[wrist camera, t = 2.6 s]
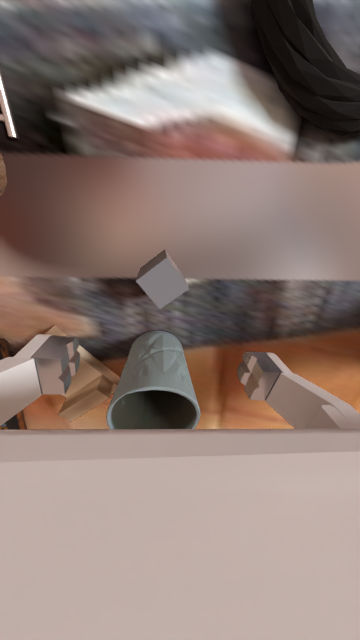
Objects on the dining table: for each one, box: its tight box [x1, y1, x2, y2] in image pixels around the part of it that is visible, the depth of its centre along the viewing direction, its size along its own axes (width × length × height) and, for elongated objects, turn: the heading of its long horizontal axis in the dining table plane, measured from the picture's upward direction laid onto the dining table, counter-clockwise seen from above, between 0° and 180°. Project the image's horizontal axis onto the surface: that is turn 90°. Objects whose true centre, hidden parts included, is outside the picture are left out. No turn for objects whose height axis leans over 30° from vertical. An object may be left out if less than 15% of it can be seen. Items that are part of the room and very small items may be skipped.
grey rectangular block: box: [136, 250, 189, 309], centre depth 22 cm, size 4×4×6 cm
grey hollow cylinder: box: [107, 331, 200, 429], centre depth 26 cm, size 10×10×12 cm
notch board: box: [44, 325, 120, 422], centre depth 28 cm, size 14×8×5 cm, turn 35°
